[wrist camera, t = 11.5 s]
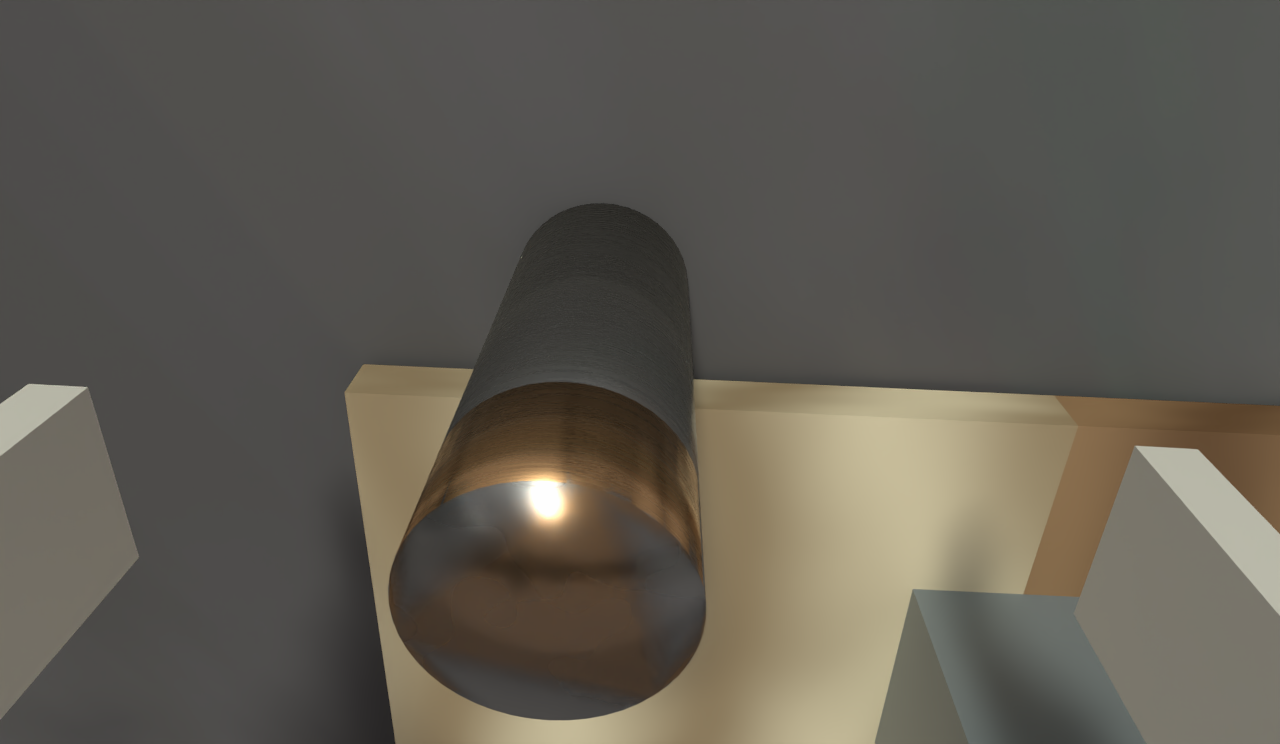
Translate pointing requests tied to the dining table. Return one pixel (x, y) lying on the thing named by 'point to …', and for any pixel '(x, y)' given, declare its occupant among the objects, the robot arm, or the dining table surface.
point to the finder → (999, 675)
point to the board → (815, 536)
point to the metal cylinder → (566, 486)
